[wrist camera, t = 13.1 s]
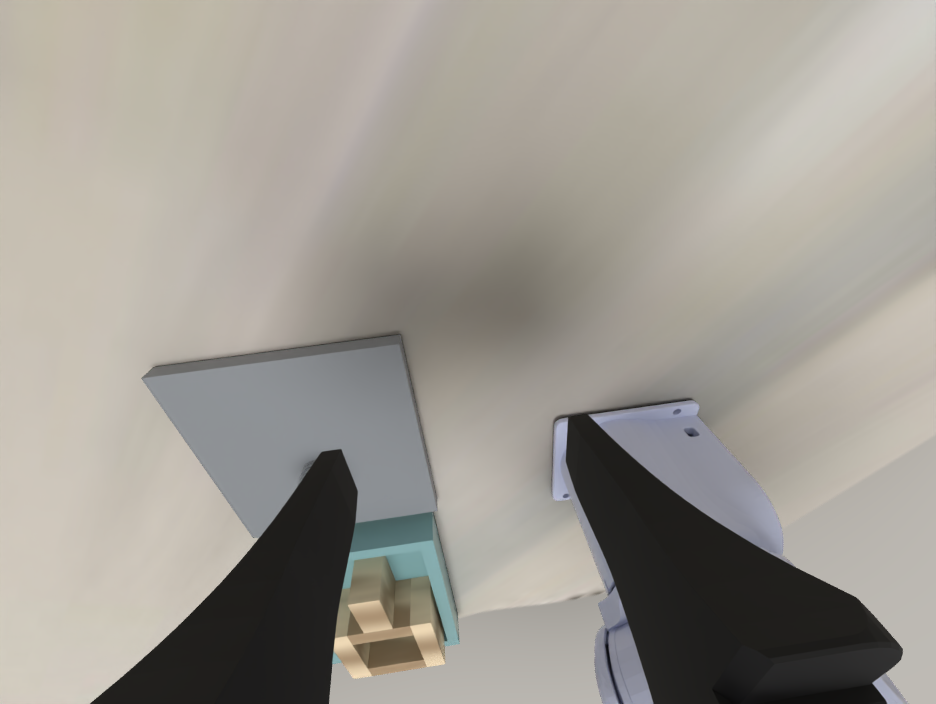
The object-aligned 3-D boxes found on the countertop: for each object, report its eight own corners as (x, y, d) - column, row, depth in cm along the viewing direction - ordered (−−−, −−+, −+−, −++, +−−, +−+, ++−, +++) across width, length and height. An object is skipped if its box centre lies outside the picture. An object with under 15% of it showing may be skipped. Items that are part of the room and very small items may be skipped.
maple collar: (443, 619, 36) (445, 664, 33) (359, 632, 36) (353, 678, 33) (420, 545, 29) (420, 593, 26) (317, 561, 29) (305, 611, 26)
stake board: (437, 499, 28) (439, 574, 23) (258, 525, 27) (225, 607, 23) (400, 334, 20) (393, 398, 16) (153, 367, 20) (72, 442, 15)
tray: (432, 508, 28) (433, 540, 26) (457, 614, 37) (459, 644, 35) (270, 532, 28) (258, 566, 26) (336, 632, 37) (330, 664, 35)
